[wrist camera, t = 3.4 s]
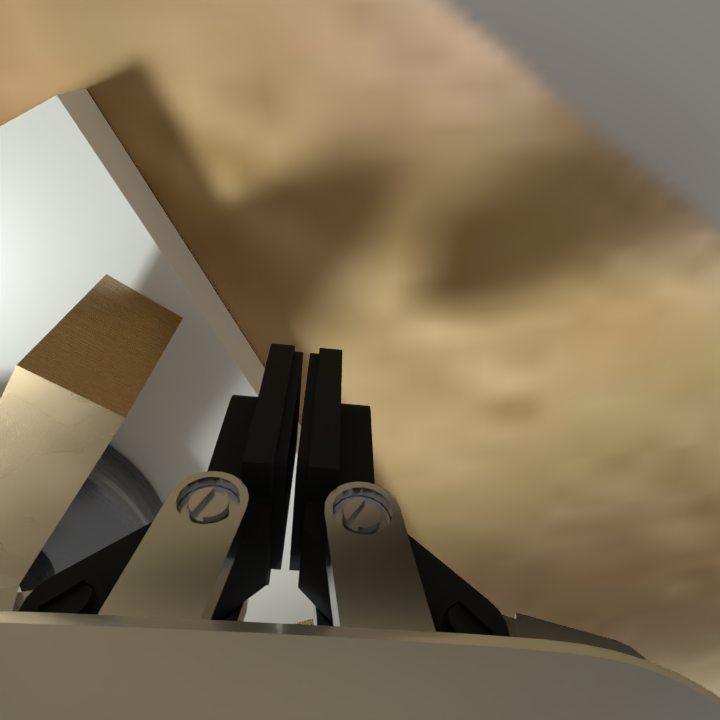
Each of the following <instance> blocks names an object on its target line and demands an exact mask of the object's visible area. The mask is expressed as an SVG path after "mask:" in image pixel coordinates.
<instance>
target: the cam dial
mask: <svg viewBox="0 0 720 720" xmlns="http://www.w3.org/2000/svg"><path fill="white" fill-rule="evenodd" d="M182 319H183V318H182V317H181V316H179V315H177V314H175V313H174V312H172V311H170V310H168V309H167V308H165V307H163V306H161V305H160V304H158V303H156V302H154V301H153V300H151V299H149V298H147V297H146V296H144V295H142V294H140V293H139V292H137V291H135V290H133V289H132V288H130V287H128V286H126V285H125V284H123V283H121V282H119V281H118V280H116V279H114V278H112V277H111V276H109V275H107V274H106V275H105V276H104V277H103V278H102V279H101V280H100V281H99V282H98V283H97V284H96V285H95V286H94V287H93V288H92V289H91V290H90V291H89V292H88V293H87V294H86V295H85V296H84V297H83V298H82V299H81V300H80V301H79V302H78V303H77V304H76V305H75V306H74V307H73V308H72V309H71V310H70V311H69V312H68V313H67V314H66V315H65V316H64V317H63V318H62V319H61V320H60V321H59V322H58V324H57V325H56V326H55V327H54V328H53V329H52V330H51V331H50V332H49V333H48V334H47V335H46V336H45V337H44V338H43V339H42V340H41V341H40V342H39V343H38V344H37V345H36V346H35V347H34V348H33V349H32V350H31V351H30V352H29V353H28V354H27V355H26V356H25V357H24V358H23V359H22V360H21V361H20V362H19V363H18V364H17V365H16V367H15V369H14V371H13V373H12V375H11V378H10V380H9V382H8V384H7V386H6V388H5V390H4V392H3V395H2V397H1V399H0V588H7V587H15V586H20V588H21V591H22V592H24V591H31V590H34V589H35V588H36V587H37V586H38V585H40V584H41V583H43V582H44V581H45V580H47V579H48V578H50V577H51V576H53V575H55V574H57V573H59V572H61V571H62V570H64V569H66V568H68V567H70V566H72V565H73V564H75V563H77V562H79V561H81V560H83V559H84V558H86V557H88V556H90V555H92V554H94V553H96V552H97V551H99V550H101V549H103V548H105V547H107V546H108V545H110V544H112V543H114V542H116V541H118V540H119V539H121V538H123V537H125V536H127V535H129V534H130V533H132V532H134V531H136V530H138V529H140V528H141V527H143V526H145V525H147V524H149V523H151V522H152V521H154V519H155V517H156V516H157V514H158V512H159V511H160V509H161V507H162V506H163V505H162V503H161V501H160V498H159V497H158V495H157V493H156V492H155V490H154V488H153V487H152V485H151V484H150V483H149V481H148V480H147V479H146V478H145V476H144V475H143V474H142V473H141V472H140V471H139V470H138V469H137V468H136V467H135V466H134V465H133V464H132V463H131V462H130V461H129V460H128V459H127V458H126V457H124V456H123V455H122V454H120V453H119V452H118V451H117V450H115V449H114V448H113V447H111V446H110V445H109V443H110V442H111V440H112V438H113V437H114V435H115V434H116V432H117V431H118V429H119V427H120V426H121V424H122V423H123V421H124V420H125V418H126V416H127V415H128V413H129V411H130V409H131V408H132V406H133V404H134V402H135V401H136V399H137V397H138V395H139V394H140V392H141V390H142V388H143V387H144V385H145V383H146V382H147V380H148V378H149V376H150V375H151V373H152V371H153V369H154V368H155V366H156V364H157V362H158V361H159V359H160V357H161V355H162V354H163V352H164V350H165V348H166V347H167V345H168V343H169V342H170V340H171V338H172V336H173V335H174V333H175V331H176V329H177V328H178V326H179V324H180V322H181V321H182Z"/></svg>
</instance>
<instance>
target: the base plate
mask: <svg viewBox="0 0 720 720" xmlns="http://www.w3.org/2000/svg"><path fill="white" fill-rule="evenodd" d="M106 274H107V275H109V276H111V277H112V278H114V279H116V280H118V281H119V282H121V283H123V284H125V285H126V286H128V287H130V288H132V289H133V290H135V291H137V292H139V293H140V294H142V295H144V296H146V297H147V298H149V299H151V300H153V301H154V302H156V303H158V304H160V305H161V306H163V307H165V308H167V309H168V310H170V311H172V312H174V313H175V314H177V315H179V316H181V317H182V318H183V319H182V321H181V322H180V324H179V326H178V328H177V329H176V331H175V333H174V335H173V336H172V338H171V340H170V342H169V343H168V345H167V347H166V348H165V350H164V352H163V354H162V355H161V357H160V359H159V361H158V362H157V364H156V366H155V368H154V369H153V371H152V373H151V375H150V376H149V378H148V380H147V382H146V383H145V385H144V387H143V388H142V390H141V392H140V394H139V395H138V397H137V399H136V401H135V402H134V404H133V406H132V408H131V409H130V411H129V413H128V415H127V416H126V418H125V420H124V421H123V423H122V424H121V426H120V427H119V429H118V431H117V432H116V434H115V435H114V437H113V438H112V440H111V442H110V443H109V445H110V446H111V447H113V448H114V449H115V450H117V451H118V452H119V453H120V454H122V455H123V456H124V457H126V458H127V459H128V460H129V461H130V462H131V463H132V464H133V465H134V466H135V467H136V468H137V469H138V470H139V471H140V472H141V473H142V474H143V475H144V476H145V478H146V479H147V480H148V481H149V483H150V484H151V485H152V487H153V488H154V490H155V492H156V493H157V495H158V497H159V498H160V501H161V503H162V505H163V504H164V502H165V501H166V499H167V497H168V496H169V494H170V492H171V491H172V490H173V489H174V488H175V486H176V485H177V484H178V483H180V482H181V481H183V480H184V479H186V478H187V477H189V476H192V475H195V474H197V473H201V472H207V470H208V467H209V464H210V461H211V458H212V455H213V452H214V448H215V445H216V442H217V439H218V436H219V433H220V430H221V427H222V424H223V421H224V417H225V414H226V411H227V408H228V405H229V402H230V399H231V397H232V395H243V396H255V397H258V395H259V391H260V387H261V383H262V379H263V375H264V371H265V368H264V367H263V365H262V363H261V362H260V360H259V359H258V357H257V356H256V354H255V352H254V351H253V349H252V348H251V346H250V345H249V343H248V341H247V340H246V338H245V337H244V335H243V334H242V332H241V331H240V329H239V327H238V326H237V324H236V323H235V321H234V320H233V318H232V316H231V315H230V313H229V312H228V310H227V309H226V307H225V305H224V304H223V302H222V301H221V299H220V298H219V296H218V295H217V293H216V291H215V290H214V288H213V287H212V285H211V284H210V282H209V280H208V279H207V277H206V276H205V274H204V273H203V271H202V269H201V268H200V266H199V265H198V263H197V262H196V260H195V259H194V257H193V255H192V254H191V252H190V251H189V249H188V248H187V246H186V244H185V243H184V241H183V240H182V238H181V237H180V235H179V234H178V232H177V230H176V229H175V227H174V226H173V224H172V223H171V221H170V219H169V218H168V216H167V215H166V213H165V212H164V210H163V208H162V207H161V205H160V204H159V202H158V201H157V199H156V198H155V196H154V194H153V193H152V191H151V190H150V188H149V187H148V185H147V183H146V182H145V180H144V179H143V177H142V176H141V174H140V172H139V171H138V169H137V168H136V166H135V165H134V163H133V162H132V160H131V158H130V157H129V155H128V154H127V152H126V151H125V149H124V147H123V146H122V144H121V143H120V141H119V140H118V138H117V136H116V135H115V133H114V132H113V130H112V129H111V127H110V126H109V124H108V122H107V121H106V119H105V118H104V116H103V115H102V113H101V111H100V110H99V108H98V107H97V105H96V104H95V102H94V100H93V99H92V97H91V96H90V94H89V93H88V91H87V90H86V89H81V90H77V91H72V92H68V93H64V94H59V95H56V96H54V97H52V98H51V99H49V100H47V101H45V102H43V103H41V104H40V105H38V106H36V107H34V108H32V109H31V110H29V111H27V112H25V113H23V114H22V115H20V116H18V117H16V118H14V119H13V120H11V121H9V122H7V123H5V124H4V125H2V126H0V399H1V397H2V395H3V392H4V390H5V388H6V386H7V384H8V382H9V380H10V378H11V375H12V373H13V371H14V369H15V367H16V365H17V364H18V363H19V362H20V361H21V360H22V359H23V358H24V357H25V356H26V355H27V354H28V353H29V352H30V351H31V350H32V349H33V348H34V347H35V346H36V345H37V344H38V343H39V342H40V341H41V340H42V339H43V338H44V337H45V336H46V335H47V334H48V333H49V332H50V331H51V330H52V329H53V328H54V327H55V326H56V325H57V324H58V322H59V321H60V320H61V319H62V318H63V317H64V316H65V315H66V314H67V313H68V312H69V311H70V310H71V309H72V308H73V307H74V306H75V305H76V304H77V303H78V302H79V301H80V300H81V299H82V298H83V297H84V296H85V295H86V294H87V293H88V292H89V291H90V290H91V289H92V288H93V287H94V286H95V285H96V284H97V283H98V282H99V281H100V280H101V279H102V278H103V277H104V276H105V275H106ZM300 432H301V424H300V423H299V421H298V436H297V448H296V456H295V464H294V472H293V480H292V488H291V495H290V503H289V511H288V519H287V527H286V535H285V543H284V550H283V558H282V566H281V570H276V569H271V574H270V581H269V585H266V586H265V587H263V588H262V589H261V590H259V591H258V592H257V593H255V594H254V595H253V596H251V597H250V598H249V601H248V607H247V612H246V615H245V618H244V620H243V622H263V623H282V624H295V623H299V622H302V621H306V620H310V619H313V603H312V602H311V601H310V600H309V599H308V598H307V597H306V595H305V594H304V593H303V592H302V591H301V590H300V589H299V588H298V580H299V571H294V570H289V565H290V550H291V536H292V522H293V507H294V493H295V478H296V467H297V457H298V448H299V440H300Z"/></svg>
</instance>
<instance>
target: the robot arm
mask: <svg viewBox="0 0 720 720" xmlns="http://www.w3.org/2000/svg"><path fill="white" fill-rule="evenodd" d="M302 362H303V352H295V346H293V345H282V344H271V347H270V351H269V355H268V359H267V363H266V367H265V371H264V375H263V379H262V383H261V387H260V391H259V395H258V397H255V396H243V395H232V397H231V399H230V402H229V405H228V408H227V411H226V414H225V417H224V421H223V424H222V427H221V430H220V433H219V436H218V439H217V442H216V445H215V448H214V452H213V455H212V458H211V461H210V464H209V467H208V470H207V472H201V473H197V474H195V475H192V476H189V477H187V478H186V479H184V480H183V481H181V482H180V483H178V484H177V485H176V486H175V488H174V489H173V490H172V491H171V492H170V494H169V496H168V497H167V499H166V501H165V502H164V504H163V506H162V507H161V509H160V511H159V512H158V514H157V516H156V517H155V519H154V521H152V522H151V523H149V524H147V525H145V526H143V527H141V528H140V529H138V530H136V531H134V532H132V533H130V534H129V535H127V536H125V537H123V538H121V539H119V540H118V541H116V542H114V543H112V544H110V545H108V546H107V547H105V548H103V549H101V550H99V551H97V552H96V553H94V554H92V555H90V556H88V557H86V558H84V559H83V560H81V561H79V562H77V563H75V564H73V565H72V566H70V567H68V568H66V569H64V570H62V571H61V572H59V573H57V574H55V575H53V576H51V577H50V578H48V579H47V580H45V581H44V582H43V583H41V584H40V585H38V586H37V587H36V588H35V589H34V590H31V591H24V592H22V591H21V588H20V586H15V587H7V588H0V720H720V698H719V697H718V696H717V695H716V694H714V693H712V692H711V691H709V690H707V689H706V688H704V687H703V686H701V685H699V684H697V683H696V682H694V681H692V680H690V679H688V678H686V677H684V676H683V675H680V674H678V673H676V672H673V671H671V670H669V669H666V668H664V667H662V666H659V665H657V664H655V663H652V662H650V661H647V660H646V659H645V658H644V657H643V656H642V655H640V654H639V653H638V652H637V651H635V650H634V649H633V648H632V647H630V646H628V645H626V644H623V643H621V642H619V641H616V640H613V639H609V638H606V637H602V636H598V635H595V634H591V633H588V632H584V631H580V630H577V629H573V628H569V627H566V626H562V625H559V624H555V623H551V622H548V621H544V620H541V619H537V618H533V617H530V616H526V615H522V614H519V613H516V614H515V616H514V618H511V617H508V616H504V615H501V613H500V611H499V610H498V609H497V608H496V607H495V606H494V605H493V604H492V603H491V602H490V601H489V600H488V599H486V598H485V597H484V596H483V595H482V594H480V593H479V592H478V591H477V590H475V589H474V588H473V587H472V586H471V585H469V584H468V583H467V582H466V581H464V580H463V579H462V578H461V577H459V576H458V575H457V574H456V573H455V572H453V571H452V570H451V569H450V568H448V567H447V566H446V565H445V564H444V563H442V562H441V561H440V560H439V559H437V558H436V557H435V556H434V555H433V554H431V553H430V552H429V551H428V550H426V549H425V548H424V547H423V546H422V545H420V544H419V543H418V542H417V541H415V540H414V539H413V538H412V537H410V536H409V535H408V534H407V531H406V527H405V524H404V520H403V517H402V514H401V510H400V507H399V505H398V503H397V501H396V499H395V498H394V497H393V496H392V495H391V494H390V493H389V492H388V491H387V490H385V489H383V488H382V487H380V486H378V485H375V484H374V467H373V448H372V429H371V411H370V406H363V405H351V404H341V380H342V350H337V349H326V348H320V350H319V354H315V353H310V359H309V367H308V375H307V383H306V391H305V399H304V408H303V416H302V424H301V432H300V440H299V448H298V457H297V467H296V478H295V493H294V507H293V522H292V536H291V550H290V565H289V570H294V571H299V580H298V588H299V589H300V590H301V591H302V592H303V593H304V594H305V595H306V597H307V598H308V599H309V600H310V601H311V602H312V603H313V623H314V625H301V624H282V623H263V622H243V620H244V618H245V615H246V612H247V607H248V601H249V598H250V597H251V596H253V595H254V594H255V593H257V592H258V591H259V590H261V589H262V588H263V587H265V586H266V585H269V581H270V574H271V569H276V570H281V566H282V558H283V550H284V543H285V535H286V527H287V519H288V511H289V503H290V495H291V488H292V480H293V472H294V464H295V456H296V448H297V436H298V421H299V406H300V392H301V377H302Z"/></svg>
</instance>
